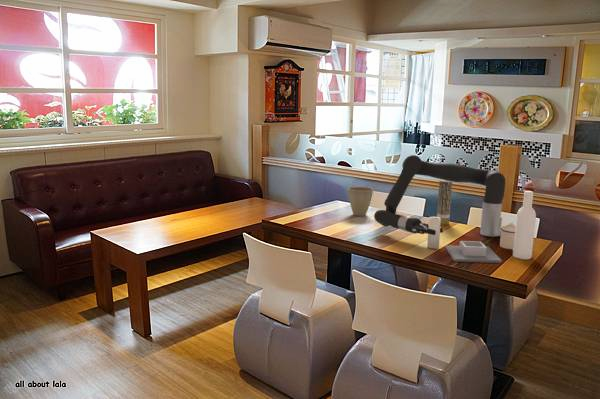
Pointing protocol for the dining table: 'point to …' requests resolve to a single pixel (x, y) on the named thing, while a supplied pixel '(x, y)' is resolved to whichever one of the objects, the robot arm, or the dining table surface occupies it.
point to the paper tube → (444, 201)
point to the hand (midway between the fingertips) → (438, 231)
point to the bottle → (524, 228)
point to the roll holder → (472, 252)
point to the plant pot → (360, 199)
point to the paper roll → (435, 225)
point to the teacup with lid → (507, 236)
